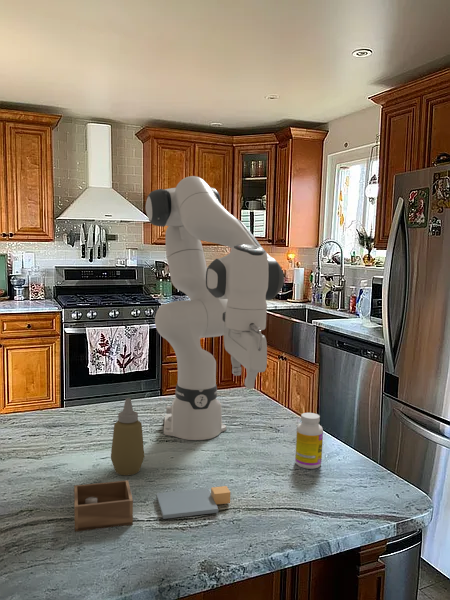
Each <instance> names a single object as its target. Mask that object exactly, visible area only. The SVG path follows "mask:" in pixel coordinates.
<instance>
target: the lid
mask: <svg viewBox="0 0 450 600" xmlns="http://www.w3.org/2000/svg"><path fill="white" fill-rule="evenodd" d="M156 500H157V504H158V506H159V509H160V513H161V516H162V517H161V518H162V519H163V520H165V519H175V518H181V517H182V518H183V517H190V516H199V515H206V514H207V515H208V514H215V513H216V514H217V513H219V508H218V505H223V504H225V505H226V504H230V503H231V490H230V489H229V488H228V486H227V485H223V486H214V487H210V490H209V488H208V487H203V488H194V489H182V490H175V491H174V490H173V491H163V492H157V493H156Z"/></svg>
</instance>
